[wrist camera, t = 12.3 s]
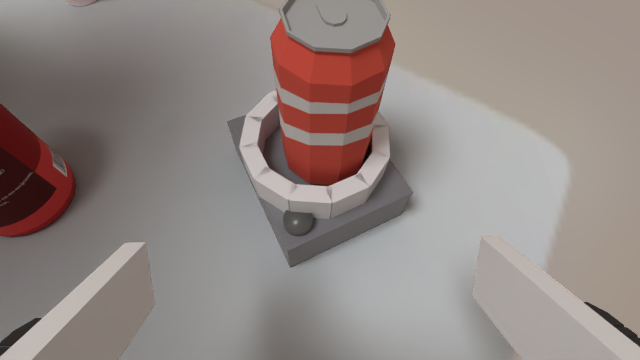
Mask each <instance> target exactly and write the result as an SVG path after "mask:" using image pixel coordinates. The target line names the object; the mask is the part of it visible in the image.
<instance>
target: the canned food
mask: <svg viewBox="0 0 640 360" xmlns="http://www.w3.org/2000/svg"><path fill="white" fill-rule="evenodd" d="M74 192H75V178H74V176H73V173H72V171H71V169H70V167H69V165H68V164H67V163H66V161H65V160H63V159H62V158H61V157H60V156H59V155H58V154H57V153H56V152H54V151H53V150H52V149H51V148H50V147H49V146H48V145H47V144H45V143H44V142H43V141H42V140H41V139H40V138H39V137H38V136H36V135H35V134H34V133H33V132H32V131H31V130H30V129H28V128H27V127H26V126H25V125H24V124H23V123H22V122H21V121H19V120H18V119H17V118H16V117H15V116H14V115H13V114H12V113H10V112H9V111H8V110H7V109H6V108H5V107H4V106H3V105H1V104H0V236H9V237H15V236H23V235H27V234H30V233H34V232H36V231H38V230H40V229H43V228H44V227H46V226H48V225H49V224H51V223H52V222H54V221H55V220H56V219H57V218H58V217H59V216H61V214H62V213H63V212H64V211H65V210H66V209H67V207H68V205H69V204H70V202H71V200H72V198H73V195H74Z"/></svg>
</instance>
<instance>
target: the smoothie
mask: <svg viewBox="0 0 640 360" xmlns="http://www.w3.org/2000/svg"><path fill="white" fill-rule="evenodd" d="M66 1H67V2H68V3H69V4H70V5H72V6H86V5H89V4H92V3H93V2H95V1H96V0H66Z"/></svg>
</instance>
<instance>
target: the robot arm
mask: <svg viewBox="0 0 640 360" xmlns="http://www.w3.org/2000/svg"><path fill="white" fill-rule="evenodd" d="M472 297H473V298H474V299H475V300H476V302H477V303H478V304H479V305H480V307H481V308H482V309H483V311H484V312H485V313H486V314H487V316H488V317H489V318H490V319H491V321H492V322H493V323H494V325H495V326H496V327H497V328H498V330H499V331H500V332H501V333H502V335H503V336H504V337H505V339H506V340H507V341H508V342H509V344H510V345H511V346H512V347H513V349H514V350H515V351H516V353H517V354H518V355H519V356H520V358H521V359H522V360H640V338H638V337H637V335H636V334H635V333H634V332H632V331H631V330H630V329H628V328H626V327H624V325H623V324H622V323H620V322H619V321H618V320H617V319H615V318H614V317H613V316H611V315H610V314H609V313H607V312H605V311H603V310H601V309H599V308H598V307H596V306H594V305H592V304H590V303H588V302H582V301H581V300H580V299H578V298H577V297H576V296H575V295H573V294H572V293H571V292H569V291H568V290H567V289H566V288H564V287H563V286H562V285H561V284H559V283H558V282H557V281H556V280H554V279H553V278H552V277H551V276H549V275H548V274H547V273H546V272H544V271H543V270H542V269H541V268H539V267H538V266H537V265H535V264H534V263H533V262H532V261H530V260H529V259H528V258H527V257H525V256H524V255H523V254H522V253H520V252H519V251H518V250H517V249H515V248H514V247H513V246H511V245H510V244H509V243H508V242H506V241H505V240H504V239H503V238H501V237H500V236H481V239H480V246H479V253H478V259H477V266H476V273H475V280H474V287H473V294H472ZM154 305H155V301H154V294H153V288H152V281H151V274H150V267H149V261H148V254H147V247H146V242H129V243H124V244H123V245H122V246H121V247H120V248H119V249H118V250H117V251H115V252H114V253H113V254H112V255H111V256H110V257H109V258H108V259H107V260H106V261H104V262H103V263H102V264H101V265H100V266H99V267H98V268H97V269H96V270H95V271H94V272H92V273H91V274H90V275H89V276H88V277H87V278H86V279H85V280H84V281H83V282H81V283H80V284H79V285H78V286H77V287H76V288H75V289H74V290H73V291H72V292H71V293H69V294H68V295H67V296H66V297H65V298H64V299H63V300H62V301H61V302H60V303H58V304H57V305H56V306H55V307H54V308H53V309H52V310H51V311H50V312H49V313H48V314H46V315H45V316H44V317H43V318H35V319H33V320H32V321H30V322H28V323H27V324H25V325H23V326H21V327H20V328H18V329H16V330H15V331H13V332H12V333H11V334H10V335H9V336H7V337H6V338H5V339H4V340H3V341H2V342H1V343H0V360H119V358H120V357H121V355H122V353H123V352H124V350H125V349H126V347H127V346H128V344H129V343H130V341H131V340H132V338H133V337H134V335H135V334H136V332H137V331H138V329H139V328H140V326H141V325H142V323H143V322H144V320H145V319H146V317H147V316H148V314H149V313H150V311H151V310H152V308H153V307H154Z"/></svg>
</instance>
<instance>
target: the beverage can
mask: <svg viewBox="0 0 640 360" xmlns="http://www.w3.org/2000/svg"><path fill="white" fill-rule="evenodd" d="M279 13H280V16H281V19H280V21H279V23H278V24H277V26H276V28H275V30H274V32H273V33H272V35H271V37H270V39H271V48H272V56H273V65H274V74H275V82H276V91H277V99H278V108H279V117H280V125H281V134H282V143H283V149H284V153H285V156H286V160H287V164H288V168H289V169H290V170H291V171H293V172H294V173H296V174H297V175H298V176H300V177H301V178H302V179H304V180H305V181H307V182H308V183H309V184H324V185H333V184H335V183H337V182H340V181H342V180H344V179H347V178H349V177H351V176H354V175H356V174H357V173H358V172H359V170H360V169H361V167H362V165H363V162H364V160H365V157H366V154H367V152H368V148H369V144H370V140H371V136H372V132H373V129H374V125H375V121H376V117H377V113H378V109H379V106H380V102H381V98H382V94H383V90H384V86H385V83H386V79H387V75H388V71H389V67H390V63H391V60H392V56H393V52H394V47H395V42H394V40H393V37H392V35H391V32H390V30H389V27H388V25H387V24H388V22H389V20H390V16H391V15H390V13H389V12H388V10H387V8H386V6H385V4H384V3H383V1H382V0H285V1H284V3H283V4H282V6H281V7H280V8H279Z"/></svg>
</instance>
